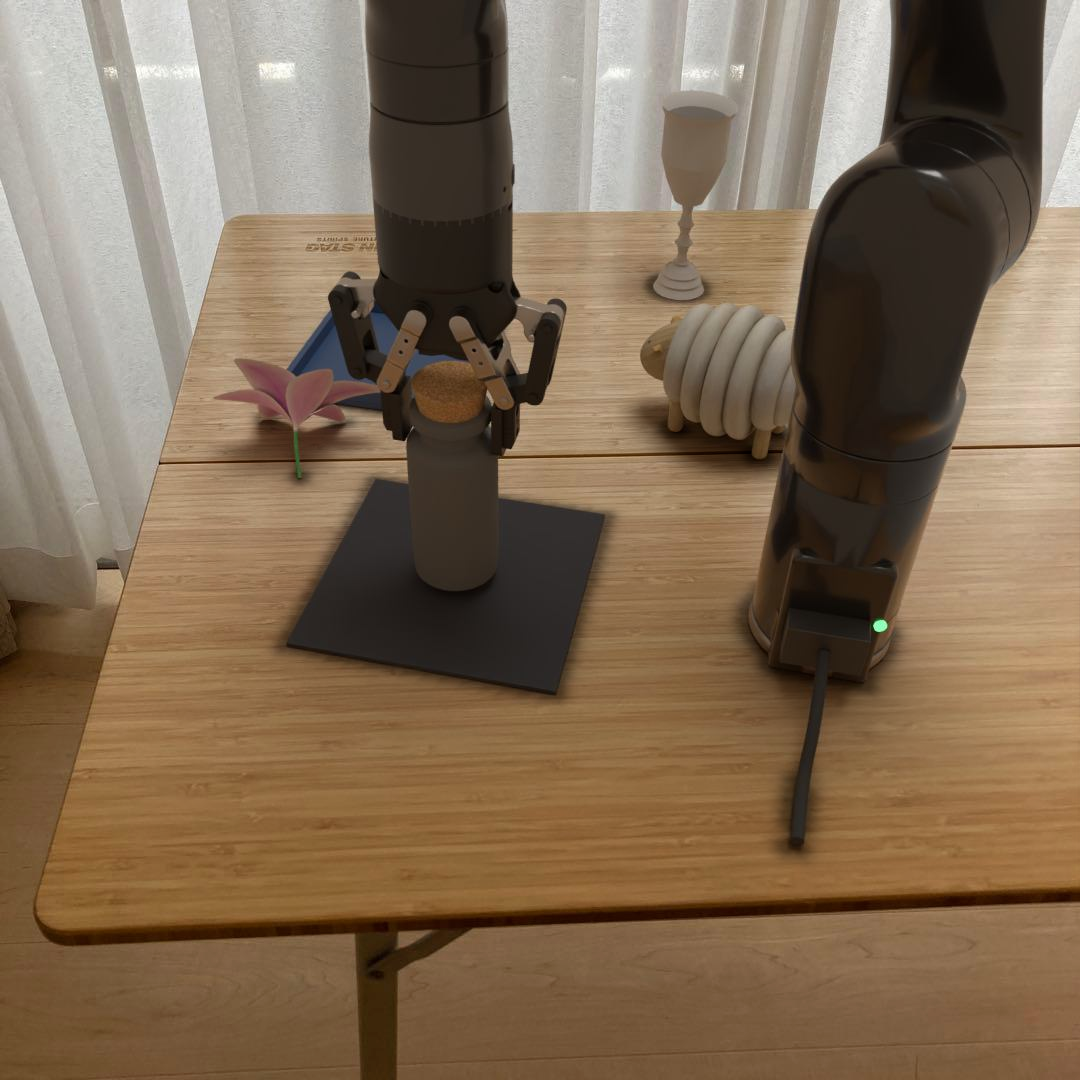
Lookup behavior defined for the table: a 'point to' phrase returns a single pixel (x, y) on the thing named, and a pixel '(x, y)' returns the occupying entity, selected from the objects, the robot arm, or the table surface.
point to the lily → (294, 394)
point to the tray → (328, 355)
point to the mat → (455, 596)
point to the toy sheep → (725, 371)
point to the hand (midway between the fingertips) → (452, 440)
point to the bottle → (452, 478)
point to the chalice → (691, 173)
